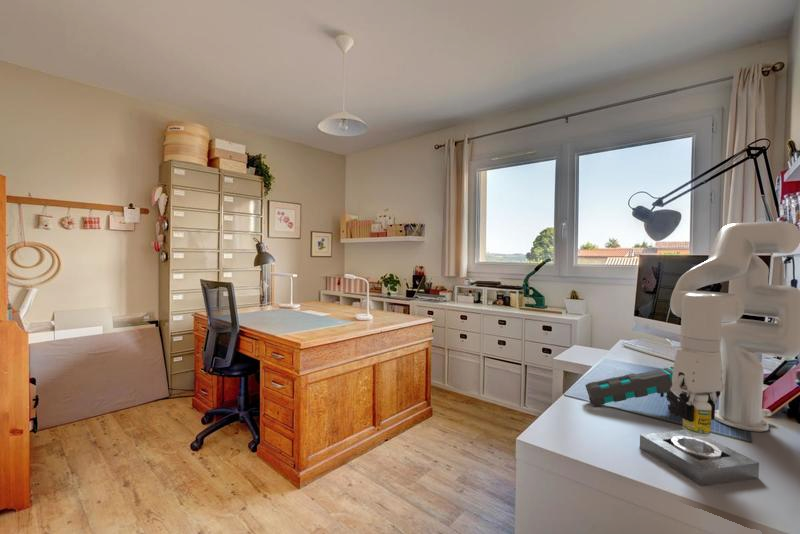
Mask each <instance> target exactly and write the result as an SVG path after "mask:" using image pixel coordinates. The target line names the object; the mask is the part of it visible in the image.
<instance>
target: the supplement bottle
mask: <svg viewBox="0 0 800 534" xmlns="http://www.w3.org/2000/svg"><path fill="white" fill-rule="evenodd" d="M688 395H689V393H687V397H688ZM707 401H708V394H706V393H695V396H694V399H693V403H692V405H694V421H693V422H690V421H688V420H685V419H683V418H682V430H685V431H686V432H688V433H691V434H693V435H697V436H704V437H710V435H711V432H712V431H711V430H712V429H711V428H712V420H711V411H712V407H711V405H710V404H709V403H708V402H707Z"/></svg>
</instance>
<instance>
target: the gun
mask: <svg viewBox="0 0 800 534" xmlns="http://www.w3.org/2000/svg"><path fill="white" fill-rule="evenodd" d="M673 367H674V366H670V368H669V367H664V368H663V369H661V368H660V369H655V370H649V371H644V372H640V373H627V374H625V375H621V376H615V377H610V378H605V379H602V380H598V381H591V382H587V384H585V385H584V386H585V388H586V391H587V395H588V400H589V402H590V404H591V405H593V407H598V406H602V405H603V406H604V405H606V404H607V403H613V402H615V403H617V402H622V401H626V400H628V399H631V398H636V399H637V398H642V397H646V396H649V395H652V394H660V398H664V395H665V394H666V395H665V398H666V400H667V401H668V402H669V404H667V408H668V409H669V410H670V411H671V412H672V413H674V414H675V415H676V416H677V417H680V416H679V405H680V401H678V400H677V397H676V396H675V394H674V393H673V392H672V391H671V390H670V388H671V387H672V376H673ZM686 390H687V388H686ZM685 395H686V397H687V393H685ZM687 398H688V397H687Z"/></svg>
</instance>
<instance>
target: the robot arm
mask: <svg viewBox="0 0 800 534" xmlns="http://www.w3.org/2000/svg"><path fill="white" fill-rule="evenodd" d="M799 246H800V230H799V227H798V226H797V225H796V224H794V223H791V222H785V221H775V220H774V221H772V220H771V221H754V222H736V223H729V224H727V225H724V226H723V227H722V228H720V230H719V231H718V232H717V234H716V237H715V240H714V242H713V244H712V247H711V250H710V253H709V255H708V258H707V260H705V261H704V262H701V263H699V264H697V265H695V266H693V267H692V268H690V269H689V270H687V271H686V272H685V273H683V274H682V275H680V277H679V278H678V280H677V282H676V283H675V287H674V288H673V291H672V293H671V297H670V300H669V301H670V302H669V308H670V310H671V312H672V314H673V315H675V316H676V317H679V318H680V319H681V320H680V339H679V340H680V341H679V342H680V343H679V348H677V350H676V354H675V357H674V362H673V366H672V367H673V376H672V387H671V388H670V390H671V391H672V392H673V393H674V394H675V396H676V397H677V400H678V401H680V405H679V416H678V417H680V418H681V419H682V420H683V419H685V420H688V421H690V422H693V421H694V405H692V403H693V399H694V396H695V393H706V394H708V401H707V402H708V403H709V404H710V405H711V407H712V411H711V421H714V420H716V421H717V422H719V423H722V424H724V425H727V426H730V427H731V428H734V429H735V428H736V429H738V430H739V429H740V430H743V431H749V432H750V431H751V432H759V433H760V432H766V431H768V430H769V423H768V422H766V421H765V420H764V419H763V418H764V417H770V416H772V411H771V410H770V409H768V408H763V396H764V395H763V394H764V393H763V392H764V391H763V390H764V389H763V388H764V373H765V372H764V371H765V370H764V367H763V365H762V362H761V361H760V360H759V358H758V357H757V356H756V355H755V354H761V355H765V356H766V355H767V356H772V357H778V358H779V357H780V358H786V359H790V358H791V359H792V358H796V357H797V356H798V355H799V354H800V289H798V288H797V287H795V286H790V285H781V284H780V285H779V284H770V283H769V272H770V269H769V266H768V265H767V264H766V262H764V260H763V259H762V258H760V257H759V256H758V255H757V254H784V255H785V254H792V253H793V252H795V251H796V250H797V249H798V247H799ZM724 282H728V292H719V291H709V290H707V291H705V290H700V289H701V288H703V287H706V286H711V285H714V284H719V283H724ZM698 289H699V290H698ZM743 315H747V316H755V317H766V318H773V319H777V320H778V321H779V322H771V321H764V320H763V321H762V320H755V319H747V318H742V316H743ZM686 388H687V390H686ZM685 393H689V395H688V398H687V397H686V395H685ZM718 398H719V400H718ZM717 403H718V409H716V404H717Z"/></svg>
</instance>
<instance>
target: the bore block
mask: <svg viewBox="0 0 800 534" xmlns="http://www.w3.org/2000/svg"><path fill="white" fill-rule="evenodd" d="M639 448H640V449H641V450H643V452H644V451H645V452H646V453H648V454H649V455H651V456H653V457H654V458H655V459H657V460H659V461H660V462H662V463H664V464H665V465H667V466H668V467H670V468H672V469H674V470H675V471H677V472H678V473H679V474H681V475H683V476H685V477H687V478H688V479H690V480H691V481H692V482H694V483H696V484H697V485H699V486H701V487H703V486H711V485H718V484H725V483H733V482H738V481H745V480H752V479H759V476H760V475H759V473H760V462H759V461H756V460H755V459H752V458H750V457H748V456H746V455H745V454H742V453H740V452H738V451H736V450H734V449H732V448H729V447H728V446H725V445H723V444H721V443H719V442H716V440H713V439H711V438H709V437H708V436H706V437H704V436H697V435H693V434H691V433H688V432H686V431H685V430H684V429H680V430H673V431H672V430H671V431H670V430H669V431H663V432H661V431H660V432H654V433H653V432H651V433H642V434H640V435H639Z"/></svg>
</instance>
